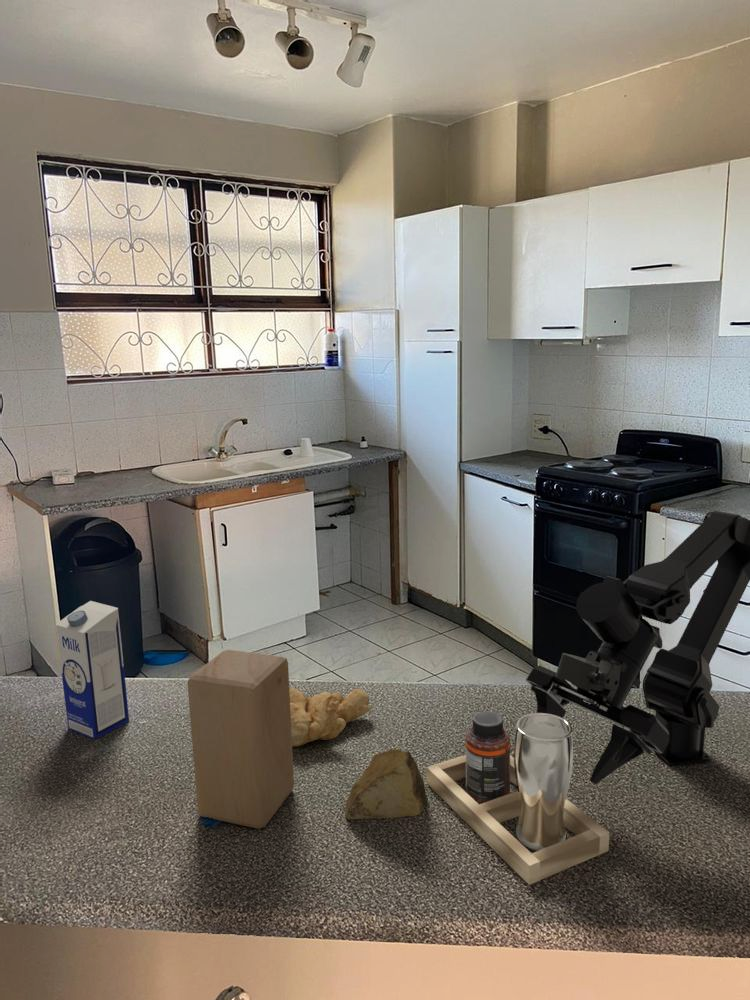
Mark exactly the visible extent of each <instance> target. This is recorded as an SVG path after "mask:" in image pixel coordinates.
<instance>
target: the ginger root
mask: <svg viewBox="0 0 750 1000" xmlns="http://www.w3.org/2000/svg"><path fill="white" fill-rule="evenodd" d="M289 692H290V713H291V733H292V747H301V746H303V745H305V744H307V743H309V742H311V743H312V742H314V741H315V740H316V741H317V740H321V741H329V740H333V739H335V738H337V737H338V736H339V735H340V733H341V732H342V731H343V730H344V729H345V728H346V725H347V723H350V722H352V721H354V720H356V719H358V718H360V717H362V716H364V715H365V714H367V713H368V712H370V711H371V710H372V708H371V706H370V705H369V704H370V698H369V695H368V693H367V692H366V691H365V690H363V689H361V688H356V689H354V690H352V691H351V692H350V693H348V694H347V695H346V696H345V697H344V695H343V694H341V692H333V693H330V692H328V691H321V693H318V694H316V695H313V697H309V696H307V697H306V694H305V693H304V692H303V691H301V690H298V689H296V688H294V687H293V686H290V685H289Z"/></svg>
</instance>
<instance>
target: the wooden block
mask: <svg viewBox="0 0 750 1000" xmlns="http://www.w3.org/2000/svg"><path fill="white" fill-rule="evenodd" d="M289 677H290V675H289V662H288V659H287V657H284V656H281V655H280V656H278V655H271V654H264V653H259V652H258V653H256V652H249V651H241V650H233V649H226V650H222V651H221V652H220V653H219V654H217V655H216V656H215V657H213V658H212V659H211V660H210V661H208V662H207V663H206V664H204V665H203V666H202V667H200V668H199V669H198V670H196V671H195V672H194V673H193V674H192V675H190V676H189V679H188V682H187V691H188V692H187V694H188V695H187V696H188V705H189V706H188V707H189V718H190V719H189V720H190V729H191V742H192V753H193V754H192V756H193V766H194V769H193V770H194V780H195V781H194V782H195V791H196V803H197V804H196V805H197V806H196V807H197V813H198V814H199V815H200V816H201V817H203V818H207V817H209V818H208V819H211V818H213V819H212V820H217V821H221V822H226V823H231V824H235V825H240V826H243V827H249V828H254V829H263V828H265V827H266V826H267V824H268V823H269V822H270V821H271V819H272V818H273V817H274V815H275V813H276V812H277V811H278V810H279V808H280V807H281V806H282V804H283V803H284V802H285V800H286V799H287V798H288V797H289V796H290V794H291V793H292V791H293V789H294V785H295V775H294V757H293V755H294V754H293V746H292V733H291V713H290V692H289V686H290V678H289Z"/></svg>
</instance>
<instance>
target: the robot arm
mask: <svg viewBox="0 0 750 1000" xmlns="http://www.w3.org/2000/svg"><path fill="white" fill-rule="evenodd" d="M716 562H717V563H716ZM715 563H716V566H715V569H714V570H713V573H712V575H711V577H710V579H709V581H708V583H707V584H706V587H705V589H704V590H703V593H702V595H701V596H700V599H699V601H698V603H697V604H696V607H695V609H694V611H693V613H692V614H691V617H690V618H689V620H688V623H687V625H686V627H685V629H684V630H683V633H682V635H681V637H680V639H679V640H678V643H677V644H676V645H675V646H673V647H672V648H670V649H665V648H663V639H662V637H661V632H660V630H661V629H660V627H658V626H654V625H652V624H650V623H649V621H648V620H646V619H645V618H647V619H651V620H654V621H657V622H659V623H662V624H666V625H667V624H668V625H671V624H673V623H675V622H676V621H677V620H678V619H679V618H680V617H681V616H682V615H683V614H684V613H685V611H686V609H687V608H688V606H689V605H690V603H691V589H692V588H693V586H694V585H695V584H696V583H697V582H698V581H699V580H700V579H701V577H703V575H705V573H706V572H708V570H709V569H710V568H711V567H712V566H713V565H714V564H715ZM749 582H750V519H748V518H746V517H743V515H741V514H737V513H731V512H727V511H726V512H725V511H720V510H713V511H708V512H707V513H706V515H705V516H704V518H703V520H702V523H700V525H699V526H697V527H696V529H695V530H693V531H692V532H691V533H690V535H688V536H687V537H686V538H685V539H684V540H683V541H682V542H681V543H680V544H679V545H678V546H676V548H675V549H673V551H671V552H670V554H669V555H668V556H666V558H664V559H663V560H661V561H657V562H653V563H649V564H645V565H643V566H642V567H640V568H639V569H638V570H636V571H634V572H633V573H631V574H630V575H629V576H628V578H627V579H625V580H623V581H622V580H621V579H620V578H617V577H613V576H609V575H606V576H605V578H604V580H603V581H602V582H598V583H595V584H592V585H590V586H589V587H586V588H585V590H584V591H581V592H580V594H579V596H578V598H577V599H576V604H575V606H576V612H577V613H578V615H579V617H580V618H581V619H582V620H583V621H584V623H585V624H586V625H587V626H588V627H589V628H590V630H592V632H593V633H594V634H595V635H596V636H597V637H598V639H600V640H601V641H602V643H601V645H600V647H599V648H598V650H594V649H591V651H589V652H588V654H587V655H586V657H581V656H578V655H574V654H569V653H565V652H562V654H561V657H560V660H559V663H558V667H557V670H556V671H554V670H551V669H549V668H547V667H545V666H543V665H540V664H539V665H536V666H535V667H533V668H531V669H530V671H529V673H528V675H527V677H526V678H525V681H526V682H527V683H528V684H529V685H530V691H531V692H532V693H533V694H534V697H535V699H536V706H537V709H536V713H547V714H552V715H556V716H559V717H561V718H563V717H564V716H566V715H565V714H566V713H567V710H566V709H565V708H564V707H563V706H566V705H568V704H569V705H570V703H571V704H574V705H576V706H578V707H580V708H581V709H584V710H586V711H589V712H590V713H593V714H595V715H597V716H599V717H601V718H603V719H605V720H607V721H610V722H612V726H611V727H612V728H611V734H610V740H609V742H608V743H607V746H606V747H605V749H604V750H603V753H602V754H601V756H600V758H599V759H598V761H597V763H596V765H595V767H594V768H593V771H592V773H591V775H590V778H589V781H590V783H592V784H593V785H597V784H598V783H601V781H603V780H604V779H605V778H607V777H608V776H609V775H611V774H612V773H614V772H615V771H617V770H618V769H619V768H621V767H622V766H624V765H625V764H627V763H629V762H630V761H633V760H634V759H636V758H637V757H638V758H639V756H642V755H643V754H646V755H647V756H650V755H651V754H652V752H653V751H655V753H657V755H659V756H660V757H661V758H662V760H663V761H664V762H666V764H667V765H668V766H680V765H688V764H694V763H695V764H696V763H705V762H710V761H711V757H710V756H709V754H707V753H706V752H705V751H704V749H705V737H706V729H707V728H708V729H712V728H714V725H715V723H714V722H715V721H717V719H718V716H719V709H720V705H719V703H718V702H717V701H716V700H715V698H714V697H713V695H712V694H711V690H712V688H713V681H712V673H711V668H710V667H711V666H710V663H711V660H712V659H713V657H714V655H715V653H716V651H717V648H718V646H719V644H720V642H721V641H722V638H723V636H724V634H725V632H726V629H727V628H728V627H729V626H728V625H729V624H730V622H731V620H732V618H733V615H734V613H735V612H736V609H737V607H738V605H739V603H740V601H741V599H742V597H743V595H744V593H745V591H746V589H747V587H748V584H749ZM642 617H645V618H642ZM654 648H656V649H659V650H658V651H657V652H656V653H655V655H654V658H653V660H652V663H651V665H649V667H648V669H646V673H645V675H644V677H643V680H642V681H641V680H640V679H639V678H638V677H639V675H640V673H641V671H642V670H643V667H644V665H645V664H646V661H647V660H648V658H649V656H650V654H651V653H652V650H653V649H654ZM641 683H642V692H643V697H644V700H645V706H646V708H647V709H649V710H653V711H655V714H653V713H649V712H648V711H646V710H643V709H641V708H639V707H636V706H634V705H632V704H629V705H627V706H625V707H624V703H625V701H626V699H627V697H628V696H629V694H630V693H631V689H632V688H635V689H637V690H638V689H639V687H640V685H641ZM572 685H573V686H575V687H576V688H575V687H573V686H572ZM601 707H602V708H601ZM603 708H604V709H603ZM605 709H606V710H605ZM563 719H564V718H563ZM616 724H617V725H616ZM652 750H653V751H652Z"/></svg>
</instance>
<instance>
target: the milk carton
mask: <svg viewBox="0 0 750 1000" xmlns="http://www.w3.org/2000/svg"><path fill="white" fill-rule="evenodd" d="M55 629H56V636H57V637H56V638H57V643H58V644H57V645H58V655H59V662H60V669H61V677H62V678H61V679H62V687H63V696H64V704H65V711H66V720H67V728H68V730H71V731H73V732H74V733H79V734H81V735H82V736H86V737H87V738H90V739H93V740H94V741H95V740H97V739H100V738H101V737H103V736H104V735H106V734H108V733H111V732H112V731H115V730H116V729H118V728H119V727H121V726H124V725H125V724H127V723H129V722H130V716H129V706H128V698H127V697H128V695H127V687H126V677H125V667H124V656H123V645H122V636H121V626H120V617H119V607H115V606H113V605H108V604H105V603H100V602H97V601H93V600H89V601H88V602H86V603H84V604H83V605H80V606H79V607H77V608H76V609H75V610H73V611H72V612H71V613H69V614H68V615H66V616H64V618H62V619H61V620H60V621H58V622H57V623H56V624H55Z"/></svg>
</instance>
